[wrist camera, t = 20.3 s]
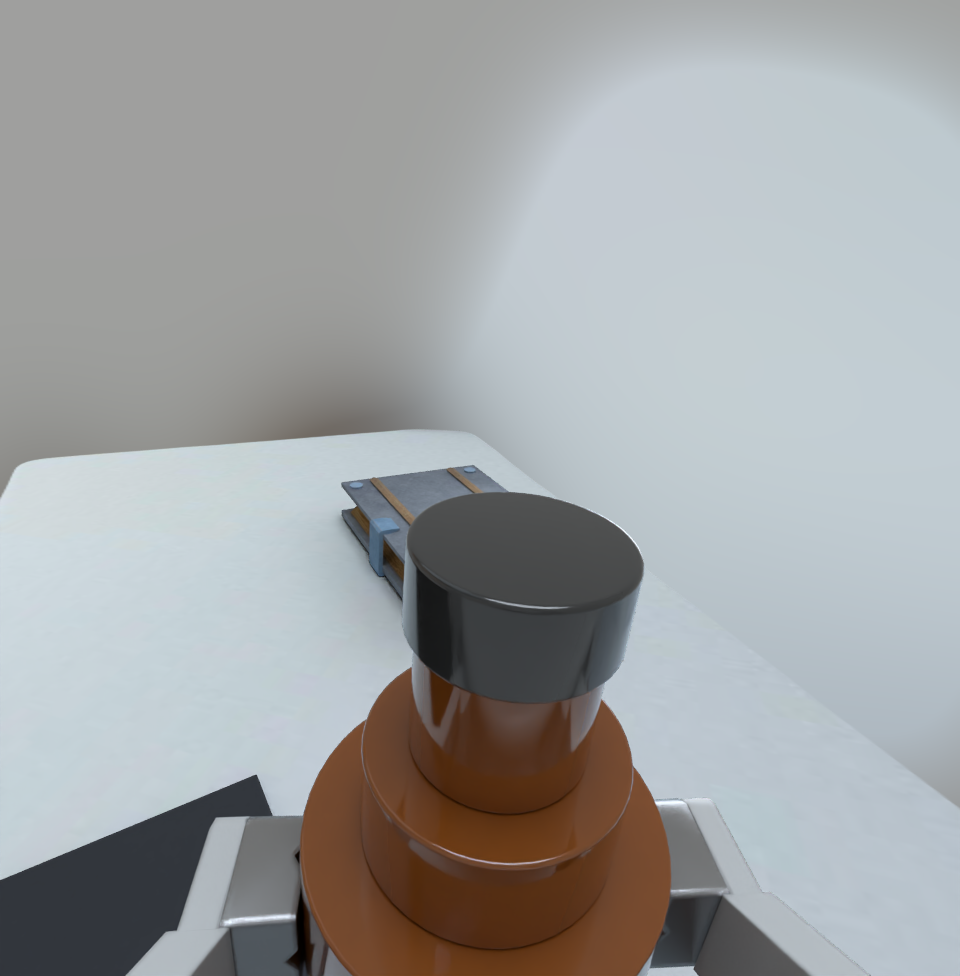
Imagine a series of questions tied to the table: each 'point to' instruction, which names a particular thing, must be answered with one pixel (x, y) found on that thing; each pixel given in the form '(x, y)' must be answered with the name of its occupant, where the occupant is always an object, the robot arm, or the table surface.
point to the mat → (112, 891)
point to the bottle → (493, 765)
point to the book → (403, 510)
